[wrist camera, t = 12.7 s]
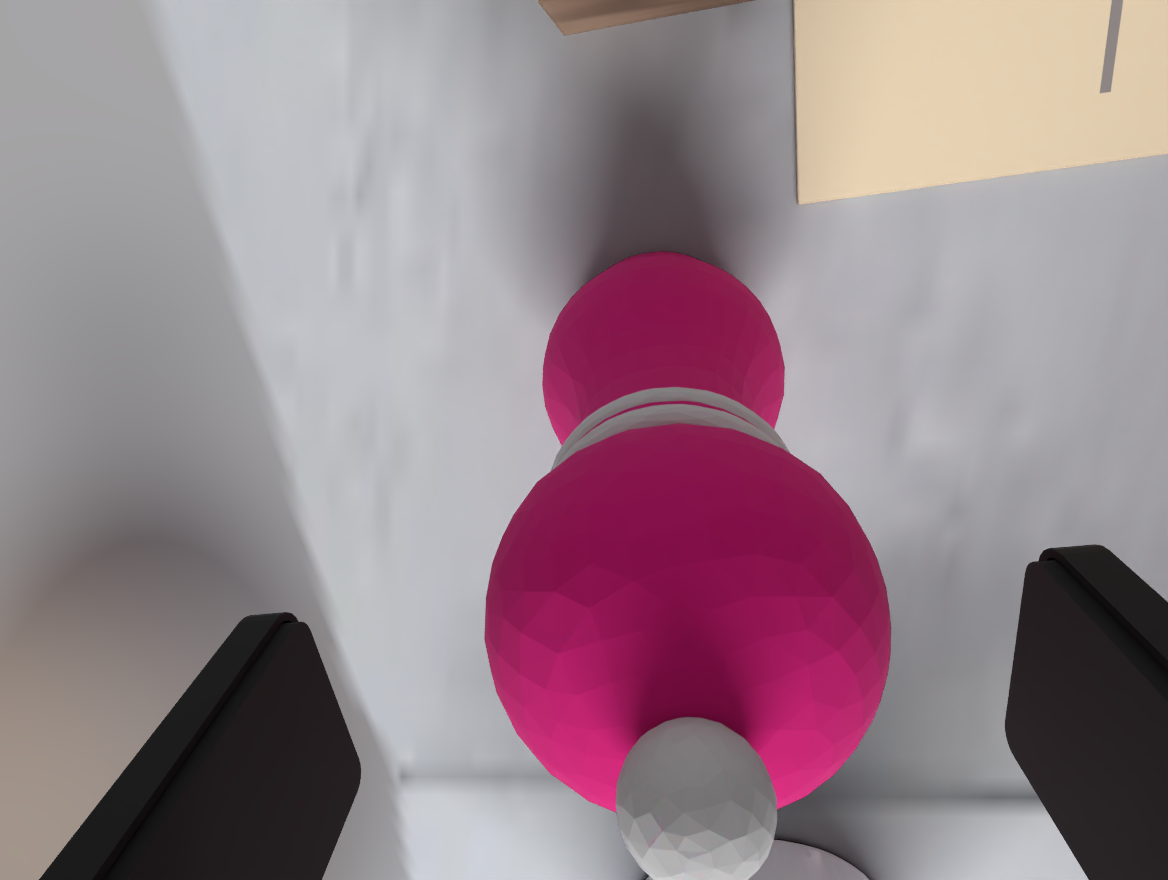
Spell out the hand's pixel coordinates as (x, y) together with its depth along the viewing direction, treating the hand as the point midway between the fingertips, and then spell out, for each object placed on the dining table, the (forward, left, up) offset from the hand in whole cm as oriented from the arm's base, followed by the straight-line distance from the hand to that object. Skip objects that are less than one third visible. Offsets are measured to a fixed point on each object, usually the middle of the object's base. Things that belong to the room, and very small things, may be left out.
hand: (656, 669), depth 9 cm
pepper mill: (0, 0, -18) cm, 18 cm away
